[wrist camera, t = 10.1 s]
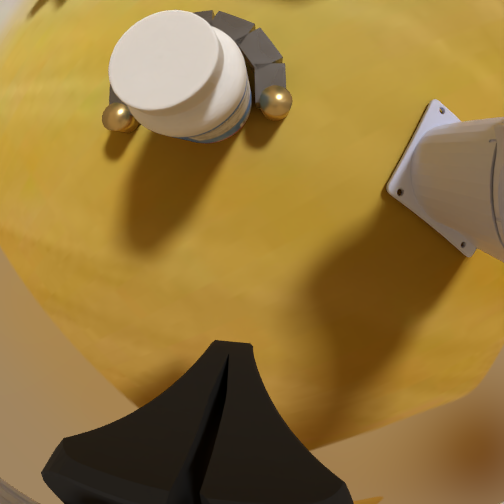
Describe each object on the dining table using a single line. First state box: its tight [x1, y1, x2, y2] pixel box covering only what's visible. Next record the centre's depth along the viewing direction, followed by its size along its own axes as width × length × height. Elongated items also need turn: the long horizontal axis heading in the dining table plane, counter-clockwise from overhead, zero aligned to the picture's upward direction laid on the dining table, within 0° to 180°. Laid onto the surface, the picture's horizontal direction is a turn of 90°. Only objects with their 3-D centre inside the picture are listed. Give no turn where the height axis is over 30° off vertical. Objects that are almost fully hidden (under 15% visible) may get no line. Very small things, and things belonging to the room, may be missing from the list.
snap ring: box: [102, 10, 292, 133], centre depth 15 cm, size 8×12×2 cm, turn 91°
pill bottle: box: [109, 10, 252, 143], centre depth 12 cm, size 6×5×10 cm
